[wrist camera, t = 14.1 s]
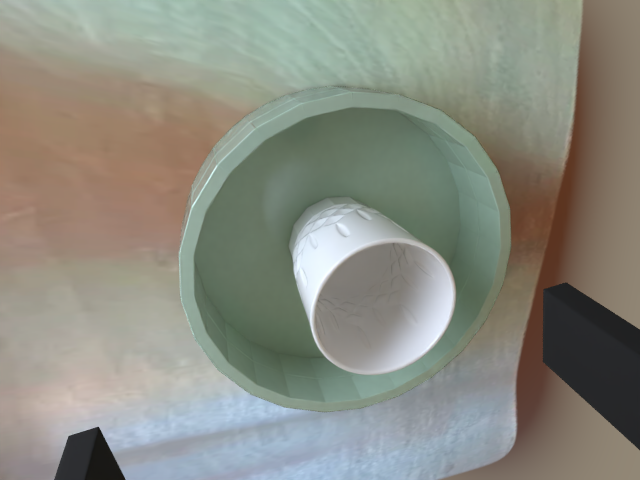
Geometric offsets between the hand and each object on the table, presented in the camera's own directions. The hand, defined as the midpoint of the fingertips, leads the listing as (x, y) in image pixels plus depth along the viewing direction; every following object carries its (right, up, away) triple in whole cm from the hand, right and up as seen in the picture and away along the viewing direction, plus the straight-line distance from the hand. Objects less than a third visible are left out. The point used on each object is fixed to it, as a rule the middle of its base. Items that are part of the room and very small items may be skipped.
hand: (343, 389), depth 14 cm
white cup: (0, +4, +20) cm, 20 cm away
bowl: (0, +4, +20) cm, 21 cm away
